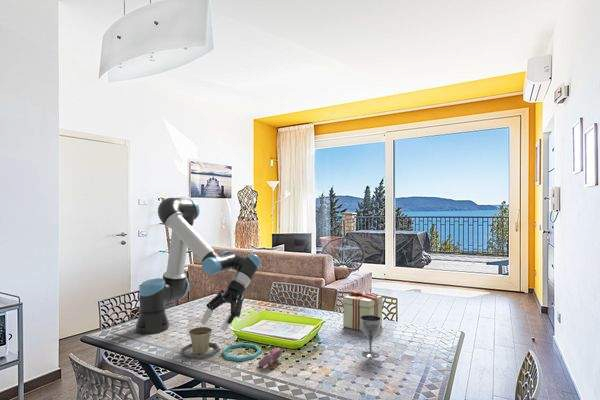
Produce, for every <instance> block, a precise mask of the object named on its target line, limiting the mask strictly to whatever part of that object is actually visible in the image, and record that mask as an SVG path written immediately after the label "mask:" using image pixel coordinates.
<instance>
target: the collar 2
mask: <svg viewBox="0 0 600 400" xmlns="http://www.w3.org/2000/svg"><path fill="white" fill-rule="evenodd" d="M242 346H243V347H244V346H245V347H246V348H251V347H252V349H255V350H256V352H255V353H254V354H251V355H246V356H240V357H239V356H232V355H228V354H227V352H229V351H230V350H232V349H237V348H242ZM245 347H244V348H245ZM221 352H222V355H223V357H224V358H225V360H228V361H235V362H243V361H248V360H249V361H250V360H255V358H257V357H258V356H259V355H260V354H261V353H262V349H261V348H260V347H259V346H258V345H257V344H256V343H255V344H253V343H246V342H242V343H241V342H240V343H234V344H229V345H228V346H227V347H225V348H224V349H223V350H222V351H221Z"/></svg>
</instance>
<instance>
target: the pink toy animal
mask: <svg viewBox="0 0 600 400" xmlns="http://www.w3.org/2000/svg"><path fill="white" fill-rule="evenodd" d="M283 353H284V351H283V350H282V349H281V348H279V347H277V348H272V349H270V350H269V352H267V353H266V354H265V356H263V358H261V359H260V360H259V361H258V363H257V365H258V366H259V367H260V368H263V367H266V366H268V367H270V366H271V365H272V364H273V363H277V362H278V359H280V358H281V356H282V355H283Z"/></svg>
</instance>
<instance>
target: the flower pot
mask: <svg viewBox="0 0 600 400" xmlns="http://www.w3.org/2000/svg"><path fill="white" fill-rule="evenodd" d="M212 332H213V329H212V328H211V327H207V326H198V327H194V328H192V329H190V330H188V334H189V337H190V340H191V343H192V347H191V349H192V354H193V355H194V354H195V355H203V354H207V353H208V351H209V348H210V346H209V342H210V340H211V334H212ZM191 343H190V344H191Z"/></svg>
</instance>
